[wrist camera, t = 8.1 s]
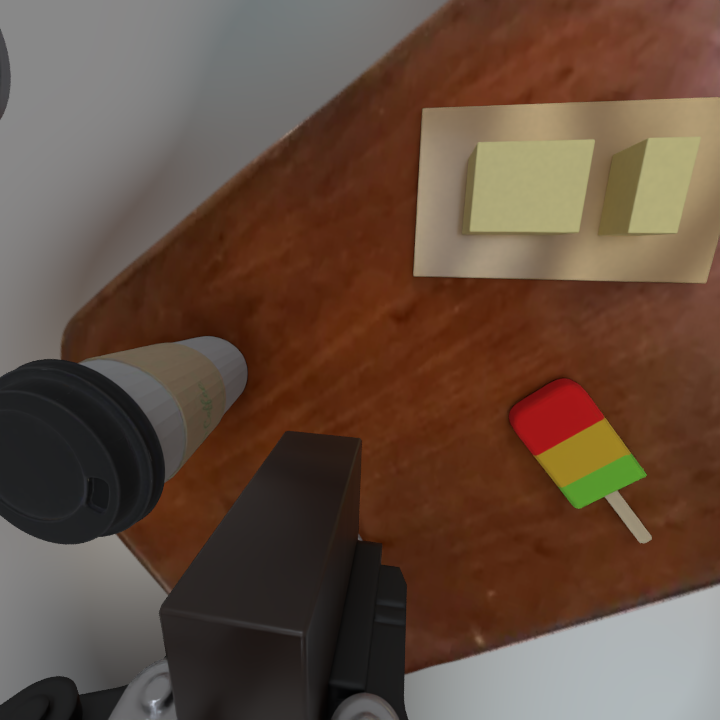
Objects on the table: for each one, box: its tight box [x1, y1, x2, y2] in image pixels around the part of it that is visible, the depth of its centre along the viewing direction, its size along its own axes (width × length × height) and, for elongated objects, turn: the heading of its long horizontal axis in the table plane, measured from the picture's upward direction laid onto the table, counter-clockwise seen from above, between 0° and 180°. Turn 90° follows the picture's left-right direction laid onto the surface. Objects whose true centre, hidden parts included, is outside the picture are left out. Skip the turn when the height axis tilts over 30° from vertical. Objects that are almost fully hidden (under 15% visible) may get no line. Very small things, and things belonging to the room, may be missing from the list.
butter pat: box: [598, 137, 701, 236], centre depth 20 cm, size 2×4×4 cm, turn 179°
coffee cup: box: [0, 336, 248, 544], centre depth 24 cm, size 9×9×15 cm
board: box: [413, 97, 720, 283], centre depth 23 cm, size 18×10×1 cm, turn 89°
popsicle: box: [509, 378, 652, 543], centre depth 27 cm, size 6×15×2 cm, turn 40°
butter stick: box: [462, 139, 595, 235], centre depth 21 cm, size 6×4×4 cm
